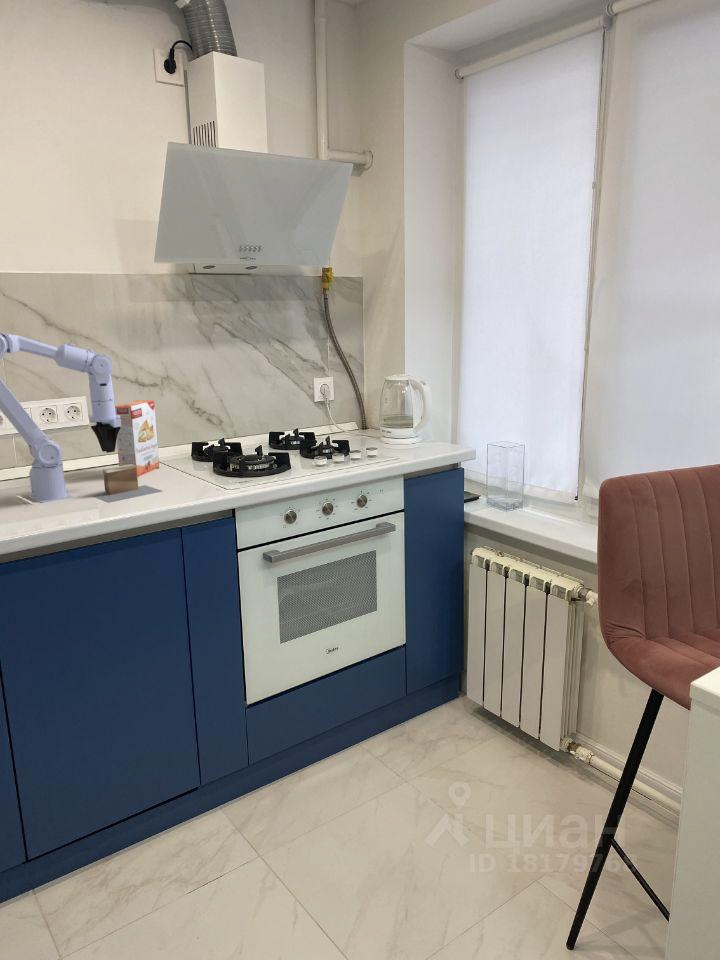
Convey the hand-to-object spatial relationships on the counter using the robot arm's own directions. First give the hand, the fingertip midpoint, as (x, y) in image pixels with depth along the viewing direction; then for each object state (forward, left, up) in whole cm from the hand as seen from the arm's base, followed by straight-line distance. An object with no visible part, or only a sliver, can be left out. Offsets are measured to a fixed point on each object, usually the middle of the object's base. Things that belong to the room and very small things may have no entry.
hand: (108, 451), depth 191 cm
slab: (+6, 0, -10) cm, 12 cm away
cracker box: (-13, +15, -11) cm, 22 cm away
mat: (+9, 0, -10) cm, 14 cm away
